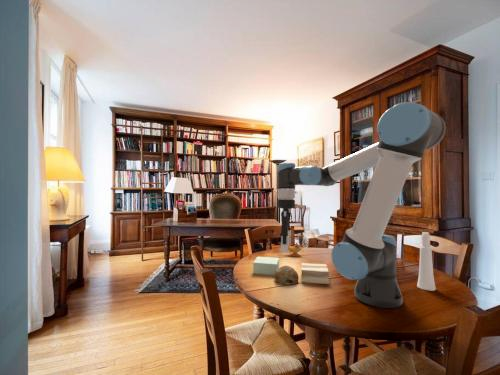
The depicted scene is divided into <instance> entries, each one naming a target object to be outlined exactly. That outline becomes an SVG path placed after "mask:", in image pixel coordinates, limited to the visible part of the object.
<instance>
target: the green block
mask: <svg viewBox="0 0 500 375" xmlns="http://www.w3.org/2000/svg"><path fill="white" fill-rule="evenodd" d="M252 266H253V267H252V273H253V274H257V275H267V276H269V275H270V276H274V275H275V272H276V271H277V270H278V269H279V268H280V257H272V256H270V257H269V256H256V258H255V259H254V261H253V263H252Z"/></svg>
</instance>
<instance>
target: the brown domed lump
mask: <svg viewBox="0 0 500 375" xmlns="http://www.w3.org/2000/svg"><path fill="white" fill-rule="evenodd" d="M273 276H274V280H275V281H276V282H277V283H279V284H282V285H285V286H287V285H293V284H297V283H299V282H298V281H299V274H298V272H297V271H296V269H294V267H292V266H289V265H283V266H281V267H280V266H279V269H278V270H277V271H276V272H275V275H273Z"/></svg>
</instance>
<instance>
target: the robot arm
mask: <svg viewBox="0 0 500 375" xmlns="http://www.w3.org/2000/svg"><path fill="white" fill-rule="evenodd" d="M446 128H447V126H446V122H445V121H444V119H443V118H442V116H440V114H438V113H436V112H434V111H432V110H430V109H429V108H428V107H427V106H425V105H423V104H420V103H416V102H412V101H403V102H400V103H397V104H394V105H393V106H392V107H390V108H388V109H387V110H386V111H385V112H384V113H383V114H382V115H381V117H380V118H379V119H378V122H377V126H376V132H377V135H378V138H379V141H378V142H376V143H374V144H371V145H369V146H367V147H364V148H363V149H361V150H359V151H356V152H355V153H352V154H350V155H348V156H345V157H344V158H341V159H340V160H337V161H335V162H333V163H330V164H329V165H326V166H324V167H318V166H316V165H305V166H296V164H295V163H294V162H280V163H278V165H277V195H276V196H277V202H276V204H277V206H276V207H277V208H278V209H282V211H281V212H280V216H281V217H280V218H281V220H280V222H281V228H280V229H281V230H280V233H279V237H281V238H280V243H281V244H280V252H281V253H288V252H289V250H288V246H290V243H291V242H290V240H291V239H290V237H291V233H290V232H291V231H292V227H291V223H290V222H291V217H292V213H291V209H295V208H296V200H295V199H296V194H297V191H296V186H322V187H323V186H324V187H330V186H334V185H336V183H338V181H342V180H344V179H347V178H349V177H352V176H354V175H357V174H359V173H362V172H364V171H367V170H369V169H371V168H374V170H373V172H372V174H371V175H372V176H371V178H370V181H369V183H368V186H367V189H366V192H365V193H364V197H363V199H362V202H361V204H360V207H359V210H358V212H357V214H356V218H355V221H354V223H353V226H352V227H350V228H348V229H346V230H345V233H344V235H343V238H342V240H341V241H340V242H337V243H336V244H335V245H334V246H333V248H332V249H331V262H332V264H333V265H334V268H335V269H336V272H338V274H340V275H341V276H343V277H344V278H346V279H347V280H352V281H354V280H356V283H355V286H354V291H353V292H354V294H353V295H354V297H355V298H356V299H357V300H358V301H360V302H362V303H364V304H367V305H369V306H371V307H376V308H381V309H382V308H384V309H394V308H400V307H401V306H403V295H402V292H401V289H400V286H399V284H398V280H397V247H398V246H397V243H396V242H397V241H396V238H395V236H393V235H388V234H385V233H384V232H385V230H386V228H387V225H388V224H389V221H390V220H391V217H392V214H393V212H394V209H395V207H396V205H397V202H398V200H399V197H400V194H401V193H402V191H403V188H404V185H405V183H406V180H407V178H408V176H409V173H410V172H411V168H412V166H413V164H414V163H416V162H418V161H420V160H422V159H423V156H424V154H425V152H426V151H429V150H431V149H433V148H434V147H436V146H438V144H440V143H441V141H442V140H443V139H444V136H445V134H446Z"/></svg>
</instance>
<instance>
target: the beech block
mask: <svg viewBox="0 0 500 375" xmlns="http://www.w3.org/2000/svg"><path fill="white" fill-rule="evenodd" d="M301 283H309V284H320V285H321V284H323V285H330V272H329V269H328V266H327V264H326V263H309V262H301Z"/></svg>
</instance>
